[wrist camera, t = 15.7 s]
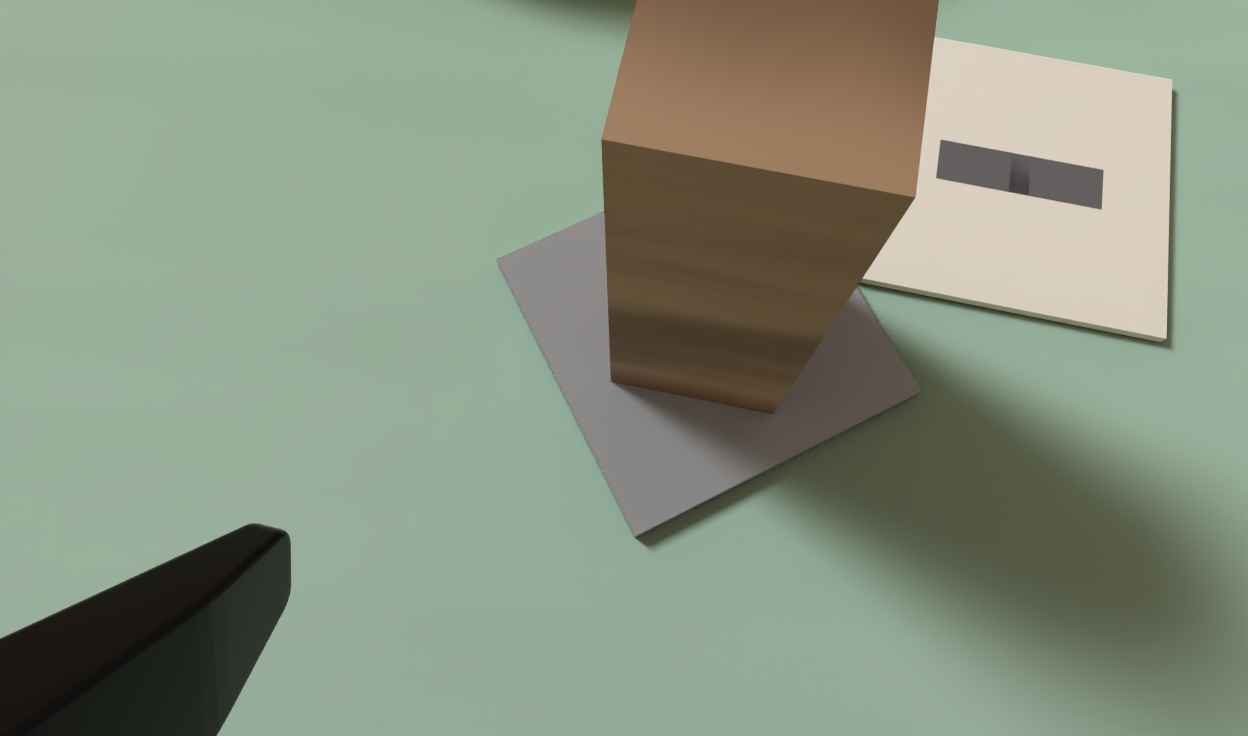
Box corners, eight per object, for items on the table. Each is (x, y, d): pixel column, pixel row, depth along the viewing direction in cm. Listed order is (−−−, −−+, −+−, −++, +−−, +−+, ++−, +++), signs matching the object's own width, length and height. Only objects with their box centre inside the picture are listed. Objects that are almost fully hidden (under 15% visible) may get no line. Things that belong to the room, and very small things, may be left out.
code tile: (1160, 342, 25) (1166, 338, 24) (852, 281, 25) (854, 276, 25) (1166, 85, 27) (1172, 79, 27) (888, 35, 28) (890, 29, 28)
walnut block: (773, 414, 24) (916, 197, 12) (610, 381, 24) (601, 139, 12) (797, 266, 25) (944, -54, 14) (643, 236, 25) (662, -101, 14)
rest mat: (917, 394, 24) (921, 390, 24) (634, 538, 23) (635, 536, 23) (761, 147, 27) (762, 140, 26) (498, 265, 25) (496, 259, 25)
